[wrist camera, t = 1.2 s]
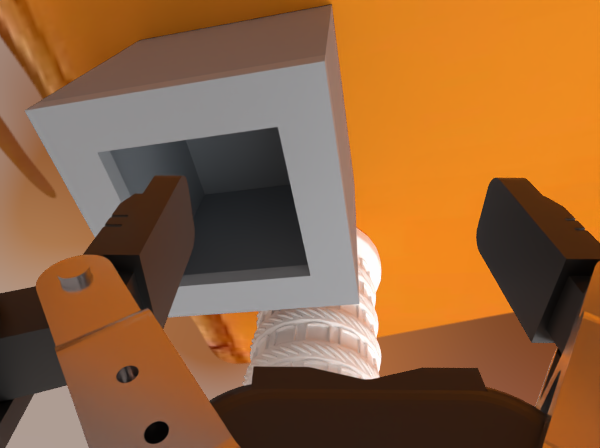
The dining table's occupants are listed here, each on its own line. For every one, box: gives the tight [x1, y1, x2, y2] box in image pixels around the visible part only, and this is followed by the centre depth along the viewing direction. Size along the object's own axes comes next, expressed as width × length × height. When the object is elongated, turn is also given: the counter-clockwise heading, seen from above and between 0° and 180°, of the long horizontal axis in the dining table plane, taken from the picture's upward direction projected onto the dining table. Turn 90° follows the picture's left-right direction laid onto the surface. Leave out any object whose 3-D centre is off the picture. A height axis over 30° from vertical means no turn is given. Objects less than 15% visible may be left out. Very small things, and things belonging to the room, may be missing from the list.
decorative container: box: [242, 227, 381, 386], centre depth 35 cm, size 12×12×18 cm
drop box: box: [25, 4, 360, 317], centre depth 28 cm, size 14×14×14 cm
